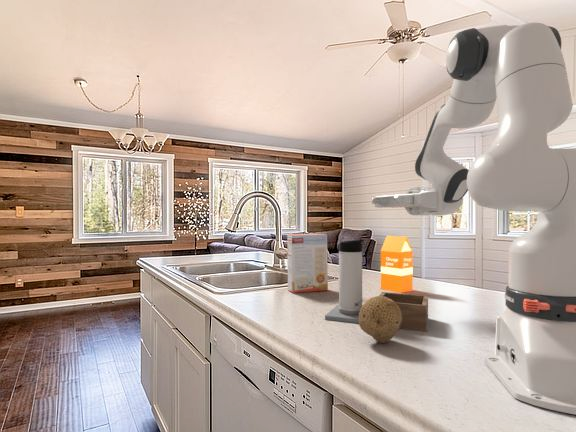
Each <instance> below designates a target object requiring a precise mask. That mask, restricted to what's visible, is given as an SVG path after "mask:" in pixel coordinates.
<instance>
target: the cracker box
mask: <svg viewBox="0 0 576 432" xmlns="http://www.w3.org/2000/svg"><path fill="white" fill-rule="evenodd" d="M286 237H287V239H286V240H287V241H286V242H287V244H286V246H287V249H286V251H287V291H289V292H290V293H293V294H297V293H298V294H299V293H309V292H311V293H312V292H325V291H326V292H327V291H328V289H329V288H328V287H329V286H328V284H329V283H328V281H329V280H328V279H329V278H328V277H329V275H328V273H329V271H328V265H329V264H328V234H326V233H294V234H293V233H292V234H291V233H290V234H287V236H286Z"/></svg>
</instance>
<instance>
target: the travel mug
mask: <svg viewBox="0 0 576 432" xmlns="http://www.w3.org/2000/svg"><path fill="white" fill-rule="evenodd" d="M362 243H364V239H363V238H360V239H358V240H357V239H354V240H346V241H341V242H339V245H338V246H339V247H338V248H339V249H338V276H339V277H338V297H339V298H338V305H339V312H340V313H342V314H345V315H359V312H360V309H361V307H362V305H363V245H362Z"/></svg>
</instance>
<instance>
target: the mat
mask: <svg viewBox="0 0 576 432" xmlns="http://www.w3.org/2000/svg"><path fill="white" fill-rule="evenodd" d="M324 320H327V321H335V322H336V321H337V322H345V323H351V324H359V315H345V314H342V313H340V312H339V304H338V305H335V306H334V307H333V308H332V309H331V310H329V312H327V313H326V314H325V315H324Z"/></svg>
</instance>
